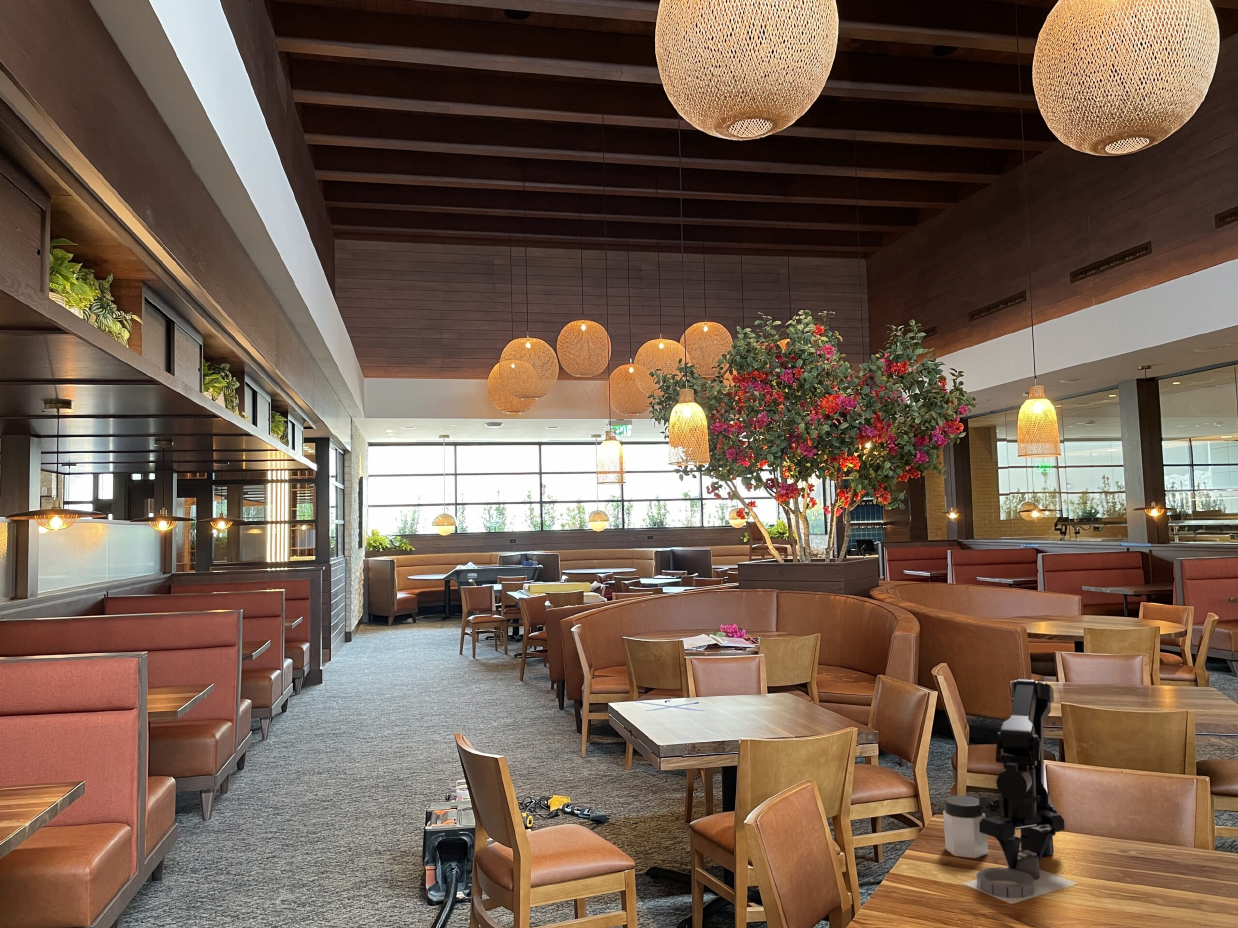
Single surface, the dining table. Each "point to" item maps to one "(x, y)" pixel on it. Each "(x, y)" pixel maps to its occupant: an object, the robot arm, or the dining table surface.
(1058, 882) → the plate
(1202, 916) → the dining table surface
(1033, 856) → the cap
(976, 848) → the jar
